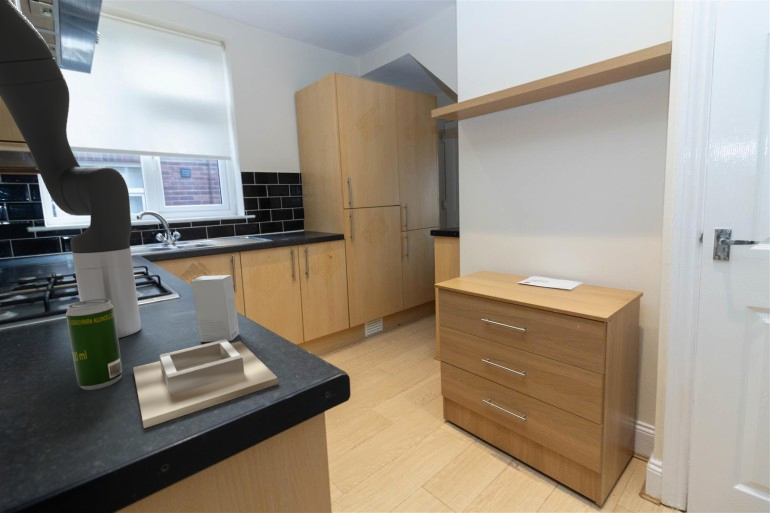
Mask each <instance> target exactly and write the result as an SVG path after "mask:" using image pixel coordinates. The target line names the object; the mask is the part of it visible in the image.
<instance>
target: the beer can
mask: <svg viewBox="0 0 770 513" xmlns="http://www.w3.org/2000/svg"><path fill="white" fill-rule="evenodd" d="M110 302H111V301H110V299H93V300H86V301H81V302H80V301H78V302H74V303H71V304H69V305H67V306H66V309H67V310H66V313H65V319H66V325H67V330H68V336H69V343H70V348H71V353H72V360H73V365H74V371H75V377H76V382H77V385H78V386H79V387H80V388H81V389H82V390H84V391H93V390H94V391H95V390H100V389H103V388H106V387H109V386H111V385H113V384H116V383H117V382H119V381H120V380H121V379H122V376H123V374H124V369H123V362H122V355H121V349H120V343H119V342H120V341H119V338H118V335H117V328H116V321H115V315H114V308H113V305H112V304H111V303H110Z"/></svg>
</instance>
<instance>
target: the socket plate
mask: <svg viewBox="0 0 770 513" xmlns="http://www.w3.org/2000/svg"><path fill="white" fill-rule="evenodd" d="M158 355H159V360H158V361H154V362H150V363H146V364H142V365H138V366H134V367H133V368H132V369H133V375H134V379H135V386H136V392H137V397H138V403H139V409H140V414H141V421H142V426H143V429H146V428H149V427H152V426H156V425H158V424H162V423H164V422H167V421H170V420H171V421H172V420H173V419H177V418H179V417H182V416H185V415H188V414H192V413H194V412H199V411H202V410H204V409H206V408H210V407H214V406H216V405H219V404H222V403H225V402H228V401H230V400H234V399H237V398H240V397H243V396H247V395H249V394H252V393H255V392H257V391H258V392H259V391H261V390H264V389H265V390H266V388H270V387H274V386H276V385H279V380H278V376H276V375H275V373H274V372H272V371H271V370H270V369H269V367H267V366H266V364H264V363H263V362H262V361H261V360H260V358H258V357H257V356H256V355H255V354H254V353H253V352H252V351H251V350H250V349H249V348H248V347H247V346H246V345H245V344H244V343H242V341H241V340H240V341H235V342H231V343H230V341H227V340H226V339H225V340H220V341H215V342H208V343H204V344H199V345H195V346H192V347H191V346H190V347H187V348H183V349H180V350H175V351H170V352H166V353H161V354H158Z"/></svg>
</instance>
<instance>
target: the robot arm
mask: <svg viewBox="0 0 770 513" xmlns="http://www.w3.org/2000/svg"><path fill="white" fill-rule="evenodd" d="M62 72H63V71H62V70H61V68H60V66H59V64H58V62H57V59H56V58H55V56H54V54H53V52H52V50H51V48H50V46H49V44H48V42H47V41H46V40H45V39H44V38H43V36H42V34H40V32H39V31H38V30H37V29H36V28H35V27H34V25H33V24H32V23H31V22H30V20H29V19H28V18H27V17H26V16H25V15H24V13H23V12H22V11H20V10H19V8H18V7H16V5H15V4H14V3H13V2H12V0H0V98H1V100H2V102H3V103H4V104H5V106H6V108H7V110H8V112H9V114H10V115H11V118H12V119H13V121H14V123H15V125H16V127H17V130H19V132H20V134H21V136H22V138H23V140H24V141H25V143H26V145H27V148H28V149H29V152H30V154H31V157H32V159H33V161H34V163H35V165H36V167H37V170H38V173H39V175H40V177H41V179H42V181H43V184H44V186H45V189H46V190H47V193H48V194H49V195H50V198H51V199H52V201H53V202H54V204H55V205H56V206H57V208H59V209H60V210H61V212H62V211H63V212H64V213H66V214H68V215H71V216H77V217H78V216H81V217H84V216H85V217H86V216H90V221H89V222H90V223H89V226H88V227H87V229H86V230H84V231H83V232H81V233H79V234H77V235H75V236H72V238H71V239H70V249H71V254H72V255H71V256H72V262H73V267H74V272H75V273H74V274H75V278H76V285H77V290H78V298H79V302H81V301H86V300H93V299H110V301H111V302H110V303H111V304H112V305H113V308H114V315H115V321H116V328H117V335H118V339H120V338H125V337H128V336H130V335H133V334H135V333H138V332H140V331H141V329H142V325H141V324H142V323H141V322H142V321H141V316H140V309H139V308H140V307H139V300H138V293H137V287H136V279H135V271H134V263H133V256H132V250H131V244H130V243H131V242H130V240H131V235H132V228H133V226H132V219H131V218H132V217H131V205H130V204H131V201H130V194H129V189H128V188H129V187H128V184H127V183H126V181H125V178H124V176H123V175H122V173H120V172H119V171H118V170H117V169H115V168H113V167H110V166H81V165H80V164H79V162H78V161H77V158H76V157H75V154H74V153H73V150H72V148H71V146H70V143H69V140H68V133H67V126H68V125H67V124H68V118H69V112H70V111H69V110H70V90H69V86H68V83H67V81H66V79H65V77H64V74H63V73H62Z"/></svg>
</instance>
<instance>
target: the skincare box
mask: <svg viewBox="0 0 770 513" xmlns="http://www.w3.org/2000/svg"><path fill="white" fill-rule="evenodd" d="M233 281H234V280H233V275H232V274H224V275H222V274H220V275H219V274H218V275H201V276H199V277H196V278H194V279H191V282H190V283H191V287H192V288H191V289H192V294H193V302H194V308H195V315H196V316H195V317H196V321H197V327H198V334H199V335H198V336H199V341H200V343H207V342H208V343H212V342H216V341H220V340H225V339H226V340H227V341H228V342H232V341H234V339H235V338H236V337H238V336H239V335H240V329H239V320H238V319H239V318H238V313H237V307H236V306H237V305H236V304H237V303H236V298H235V297H236V296H235V288H234V282H233Z"/></svg>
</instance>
